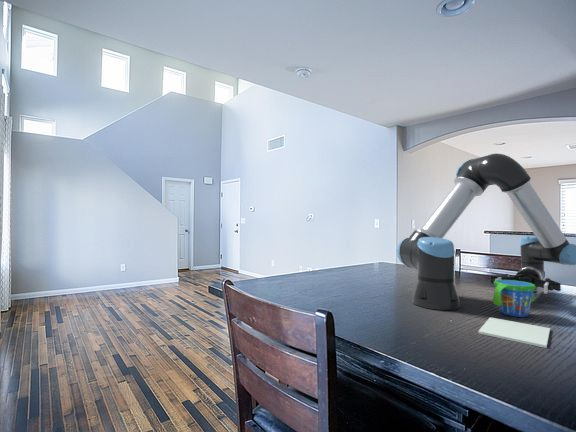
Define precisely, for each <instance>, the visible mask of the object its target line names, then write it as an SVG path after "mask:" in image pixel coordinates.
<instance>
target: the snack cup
mask: <svg viewBox="0 0 576 432" xmlns="http://www.w3.org/2000/svg"><path fill="white" fill-rule="evenodd" d="M493 285H494V287H495V289H494V293H493V298H492V302H493V305H495V306H498V308H499V311H500V312H501V313H502V314H503V315H505V316H510V317H518V318H525V317H529V316H530V315H529V314H530V310H531V305H532V303H534V302H535V299H536V298H535V294H534V291H535V290H536V288H537V287H536V286H535V285H534V284H532V283H528V282H522V281H514V280H495V281H494V283H493Z"/></svg>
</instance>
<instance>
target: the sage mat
mask: <svg viewBox="0 0 576 432" xmlns="http://www.w3.org/2000/svg"><path fill="white" fill-rule="evenodd" d="M550 332H551V328H550V327H546V326H540V325H535V324H530V323H523V322H518V321H511V320H506V319H502V318H496V317H489V318H488V319H487V320H486V321H485V322H484V324H483V325H482V326H481V327H480V328H479V329H478V331H477V333H478V334H479V335H484V336H489V337H494V338H498V339H502V340H508V341H511V342H516V343H521V344H525V345H531V346H535V347H540V348H544V349H547V348H548V342H549V338H550Z"/></svg>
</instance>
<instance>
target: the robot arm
mask: <svg viewBox="0 0 576 432" xmlns="http://www.w3.org/2000/svg"><path fill="white" fill-rule="evenodd" d="M531 180H532V178H531V176H530V175H529V173H528V172H527V171H526V170H525V168H524V167H523V166H522V165H521V164H520V163H519V162H517V160H515V159H514V158H513V157H511V156H508V155H506V154H503V153H491V154H488V155H484V156H481V157H475V158H471V159H468V160H466V161H465V162H462V163H461V164H460V165H459V167H457V170H456V172H455V178H454V180H453V182H454V186H453V187H452V188H451V190H450V191H449V192H448V193H447V195H446V196H445V197H444V199H443V200H442V201H441V203H439V205H438V206H437V208H436V209H435V210H434V212H433V213H432V214H431V216H430V217H429V218H428V219H427V221H426V222H425V223H424V225H423V226H422V227H421V228H419V229H414V231H413V232H412V233H411V234H410V235H409V237H406V238H404V239H402V240H401V241H400V242H399V243H398V244H397V248H396V255H397V256H396V257H397V258H398V260H399V261H400V262H401V264H403V265H404V266H406V267H408V268H410V269H415V270H417V283H416V286H415V289H414V291H413V294H412V303H413V304H414V305H416V306H418V307H421V308H425V309H430V310H439V311H452V310H453V311H454V310H458V309H460V307H461V304H460V303H461V301H460V298H459V295H458V291H457V290H456V286H455V255H456V253H455V245H454V242H453V241H452V240H450V239H447V238H445V237H446V234H447V233H448V232H449V231H450V230H451V228H452V227H453V226H454V224H455V223H456V222H457V220H458V219H459V218H460V216H461V215H462V214H463V213H464V211H466V209H467V207H468V206H469V205H470V204H471V202H472V201H473V200H474V199H475V197H479V196H480V197H481V195H483V193H484V192H485V191H486V189H487V188H488V187H489V186H493V185H495V186H497V187H498V188H499V189H500V191H501V192H502V193H506V194H507V195H508V197H509V198H510V200H511V201H512V203H513V205H514V206H515V207H516V209H517V210H518V212H519V213H520V215H521V217H522V218H523V219H524V221H525V223H526V224H527V225H528V227H529V228H530V230H531V231H532V233H533V234H534V235H535V236H534V235H533V236H532V235H531V236H530V235H527V236H526V235H524V236H522V237H521V239H520V245H519V246H520V270H518V272H516V274H512V275H511V276H510V275H509V274H508V273H504V274H497V275H490V283H491V284H494V281H495V280H514V281H522V282H528V283H532V284H534V285H535V286H536V288H542V289H543V294H546V295H547V294H548V293H549V291H557V292H561V290H562V289H561V282H558V281H554V280H552V279H551V278H550V277H546V271H545V266H544V265H545V262H547V263H553V264H554V263H555V264H559V265H560V264H561V265H566V266H567V265H568V266H576V244H574V243H570V242H569V240H568V239H567V238H566V236H565V234H564V233H563V231H562V230H561V229H560V226H559V225H558V224H557V222H556V221H555V219H554V218H553V216H552V214H551V213H550V212H549V210H548V208H547V207H546V205H545V204H544V202H543V201H542V200H541V198H540V197H539V195H538V193H537V192H536V191H535V189H534V188H533V186H532V184H531V183H530V182H531ZM545 277H546V278H545Z"/></svg>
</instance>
